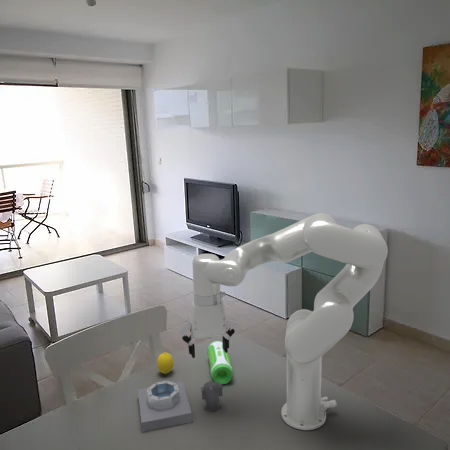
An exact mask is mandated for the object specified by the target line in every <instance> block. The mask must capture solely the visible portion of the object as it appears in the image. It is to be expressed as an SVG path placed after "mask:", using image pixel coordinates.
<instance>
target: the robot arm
mask: <svg viewBox="0 0 450 450" xmlns="http://www.w3.org/2000/svg"><path fill="white" fill-rule="evenodd" d="M311 252H312V253H314V254H316V255H318V256H321V257H324V258H327V259H329V260H334V261H337V262H340V263H344V264H346V265H344V267H343V268H341V270H340V271H339V272H338V274H336V276H334V277H333V278H332V279H331V280H330V281H329V282H328V283H327V284H326V285H325V286H324V287H322V289H321V290H319V291H318V292H317V293H316V296H315V298H314V303H313V310H309V309H306V308H303V309H302V308H301V309H298V310H296V311H295V312H293V313H292V314H291V315H290V316H289V318H288V320H287V324H286V328H285V339H284V349H285V352H286V402H285V403H284V404H283V405H282V407H281V411H280V413H281V414H280V415H281V418H282V420H283V422H285V423H286V424H287V425H288V426H290V427H292V428H294V429H296V430H302V431H311V430H316V429H319V428H321V427H322V426H323V425H324V424H325V423H326V420H327V413H326V411H327V409H332V408H336V407H337V405H338V404H337V401H336V399H331V400H329V398H328V396H323V397H322V365H323V364H322V362H323V361H322V360H323V357H322V356H324V355H325V354H326V353H327V352H329V350H331V349H332V348H333V347H334V346H335V345H336V344H337V343H338V342H339V341H340V340H342V338H344V337H345V336H346V335H347V334H348V332H349V331H350V329H351V328H352V325H353V323H354V310H353V309H354V307H355V306H356V305H357V304H358V303H359V302H360V301H361V300H362V299H363V298H364V296H366V294H368V292H370V291H371V289H372V288H373V287H374V286H375V285H376V283H377V282H378V280H379V278H380V276H381V275H382V271H383V268H384V263H385V261H386V260H387V257H388V254H389V253H388V252H389V250H388V245H387V243H386V241H385V239H384V237H383V235H382V233H381V232H380V230H378V229H377V227H375V226H373V225H372V224H369V223H361V224H358V225H357V226H355V227H353V228H349V227H347V226H343V225H340V224H338V223H337V222H336V220H335V218H334V217H332V216H331V214H328V213H324V212H318V213H315V214H312V215H309V216H308V217H305V218H303V219H300V220H298V221H297V222H295V223H293V224H291V225H288V226H286V227H284V228H281V229H279V230H277V231H275V232H272V233H270V234H267V235H264V236H262V237H259V238H256V239H253V240H251V241H248V242H247V243H244V244H241V245H240V246H238V247H236V248H234V249H232V250H231V251H229V252H228V253H227V254H226V255H225V256H224V258H222V259H220V258H219V256H217V255H216V254H213V253H201V254H197V255H195V256H194V257H193V259H192V281H193V283H192V285H193V300H192V301H191V304H190V309H189V322H188V323H187V324H185V325H184V326H182V327H181V328H178V330H177V332H178V334H179V336H180V338H181V339H182V341H183V342H185V344H186V343H187V345H188V354H189V355H191V358H192V359H195V358H196V352H195V351H196V349H195V341H196V340H197V339H203V338H206V339H207V338H211V337H218V336H222V341H221V342H223V350H224V351H225V352H226V353H228V354H229V352H228V350H229V349H230V340H231V338H232V336H233V335H234V334H235V333H236V330H237V328H238V325H239V324H238V322H237V321H236V320H233V319H230V318H227V317H226V309H225V306H224V301H223V299H222V298H224V297H226V291H222V290H221V285H222V286H226V287H236V286H239V285H240V284H242V283H243V281H244V280H245V278H246V275H247V273H248V271H250V270H252V269H255V268H257V267H259V266H261V265H264V264H267V263H271V262H278V263H281V264H282V263H283V264H287V263H289V262H291V261H294V260H296V259H298V258H300V257H303V256H305V255H307V254H310V253H311ZM227 325H228V326H230V327H229V329H228V326H227ZM227 329H228V330H227ZM188 331H189V332H190V334H189V335H186V332H188Z"/></svg>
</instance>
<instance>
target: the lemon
mask: <svg viewBox="0 0 450 450" xmlns="http://www.w3.org/2000/svg"><path fill="white" fill-rule="evenodd" d="M174 364H175V361H174V358H173V355H172V354H171V353H168V352H165V351H164V352H162V353H160V354H159V356H158V357H157V360H156V366H157V368H158V371H159V372H160V373H162V374H165V375H167V374H169V373H170V372H171V371H172V370H173V369H174Z"/></svg>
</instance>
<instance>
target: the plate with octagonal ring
mask: <svg viewBox="0 0 450 450" xmlns="http://www.w3.org/2000/svg"><path fill="white" fill-rule="evenodd" d="M175 383H176V384H177V385H178V389H179V397H180V402H179V403H178V404H177V405H175V406H174V407H173V408H172V409H168V410H163V411H157V410H154V409H152V408H149V405H148V398H147V389H148V388H149V387H145V388H139V389H137V394H138V395H137V396H138V406H139V414H140V422H141V431H142V433H145V432H150V431H155V430H159V429H165V428H170V427H175V426H179V425H185V424H190V423H193V412H192V408H191V405H190V402H189V399H188V395H187V392H186V389H185V384H184V382H183V381H178V382H175ZM169 395H170V394H167V393H166V394H161V395H157V397H159V398H160V397H165V396H169ZM189 422H190V423H189ZM184 423H185V424H184Z"/></svg>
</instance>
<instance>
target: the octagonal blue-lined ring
mask: <svg viewBox="0 0 450 450" xmlns="http://www.w3.org/2000/svg"><path fill="white" fill-rule="evenodd" d="M176 383H177V382H173V381H169V380H163V381H158V382H154V383H153V384H151V386H149V387H147V388H148V389H147V398H148V405H149V408H152V409H154V410H157V411H163V410H168V409H172V408H173V407H174V406H175V405H177V404H178V403H179V402H180V397H179V389H178V385H177V384H176ZM166 393H167V394H170V395H169V396H165V397H160V398H159V397H157V395H161V394H166Z"/></svg>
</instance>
